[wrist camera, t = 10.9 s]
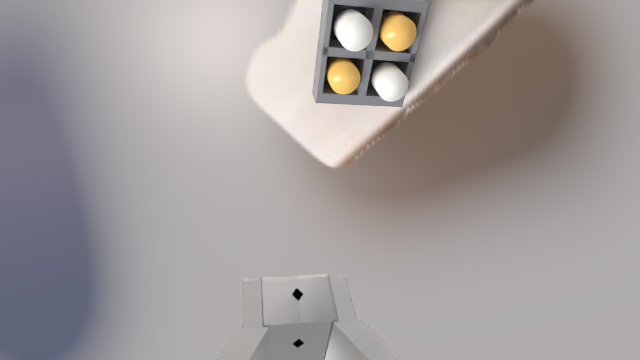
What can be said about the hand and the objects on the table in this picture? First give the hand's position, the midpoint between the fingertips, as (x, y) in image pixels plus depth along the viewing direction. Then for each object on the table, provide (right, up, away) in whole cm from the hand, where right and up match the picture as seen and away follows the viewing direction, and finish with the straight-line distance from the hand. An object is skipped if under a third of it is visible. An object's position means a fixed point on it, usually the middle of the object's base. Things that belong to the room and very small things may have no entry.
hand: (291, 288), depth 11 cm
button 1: (+3, +14, +26) cm, 30 cm away
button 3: (+3, +17, +22) cm, 28 cm away
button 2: (+7, +13, +26) cm, 30 cm away
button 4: (+8, +18, +24) cm, 31 cm away
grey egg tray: (+5, +16, +26) cm, 31 cm away
